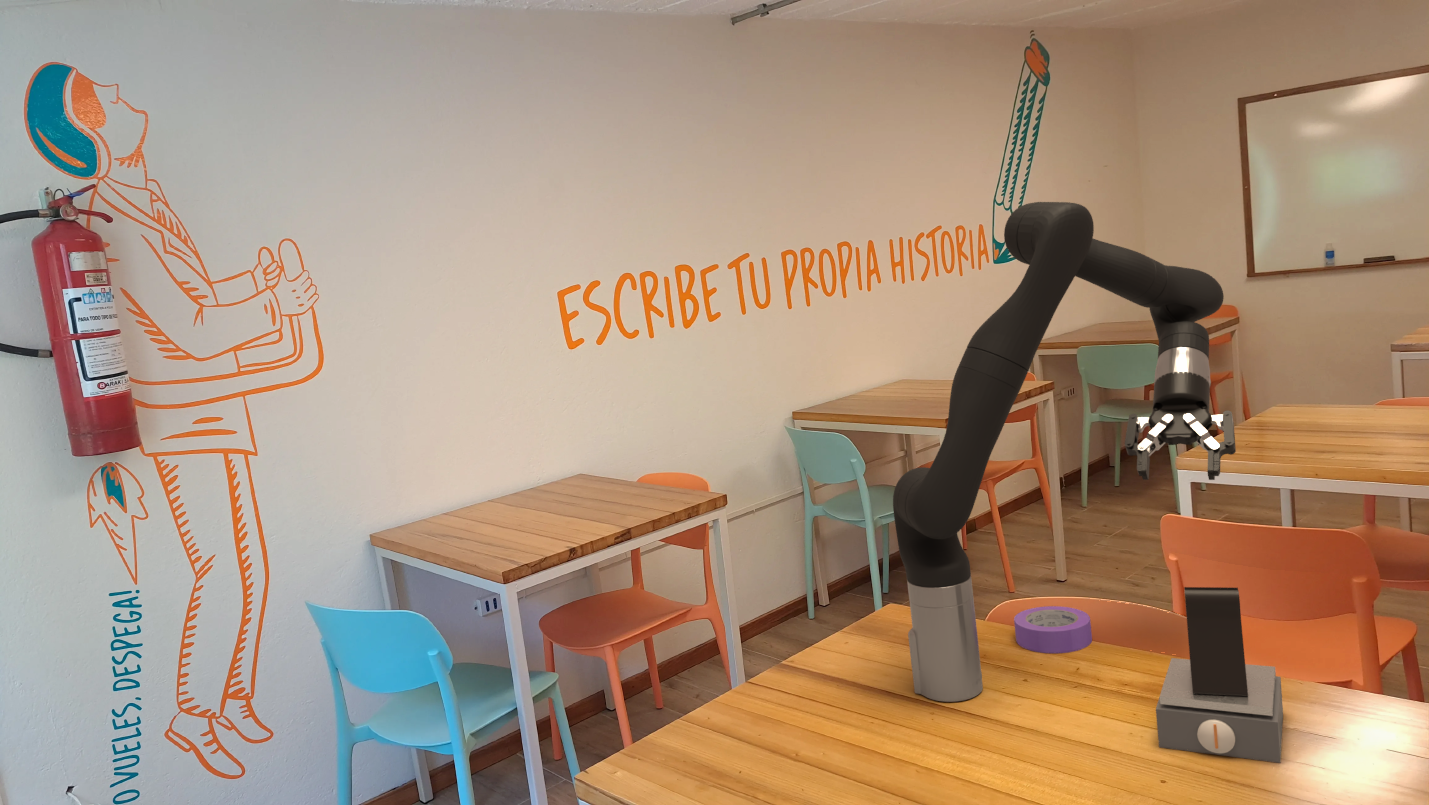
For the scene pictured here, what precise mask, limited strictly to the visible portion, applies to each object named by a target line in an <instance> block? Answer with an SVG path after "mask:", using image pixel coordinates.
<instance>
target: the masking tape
mask: <svg viewBox="0 0 1429 805" xmlns="http://www.w3.org/2000/svg"><path fill="white" fill-rule="evenodd" d="M1013 624H1014V632H1015V633H1014V634H1015V641H1016V643H1017V645H1019V646H1020V647H1021V648H1023V649H1025V650H1028V651H1031V652H1035V653H1041V654H1068V653H1072V652H1073V653H1074V652H1078V651H1080V650H1083V649H1084V648H1085V649H1086V648H1087V647H1089V646H1090V645H1091V644H1092V641H1093V635H1092V624H1091V617H1090V616H1089V614H1088V613H1087V612H1085V611H1083V610H1082V609H1081V610H1080V609H1077V608H1073V607H1069V606H1058V605H1057V606H1056V605H1052V606H1037V607H1032V608H1027V609H1025V610H1021V611H1020V612H1018V613H1017V614H1016V615H1015V616H1014V618H1013Z"/></svg>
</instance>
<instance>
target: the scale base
mask: <svg viewBox="0 0 1429 805" xmlns="http://www.w3.org/2000/svg"><path fill="white" fill-rule="evenodd" d="M1165 678H1166V676H1165V677H1164V679H1165ZM1281 678H1282V676H1277V675H1276V677H1275V690H1274V704H1273V716H1268V715H1259V714H1249V713H1240V712H1231V711H1221V710H1212V709H1203V708H1193V707H1184V706H1175V705H1165V704H1160V696H1159V698H1158V700H1157V704H1156V708H1155V716H1156V717H1155V718H1156V727H1157V728H1156V729H1157V738H1158V739H1157V740H1158V747H1159V748H1162V749H1169V750H1177V751H1186V752H1193V753H1200V754H1208V755H1209V754H1210V755H1217V756H1225V757H1231V758H1239V759H1246V760H1247V759H1248V760H1254V761H1263V762H1271V763H1278V764H1281V762H1282V761H1281V760H1282V744H1283V743H1282V741H1283V740H1282V739H1283V724H1284V723H1283V720H1284V707H1283V692H1282V679H1281ZM1161 691H1162V689H1161ZM1161 691H1160V692H1161Z"/></svg>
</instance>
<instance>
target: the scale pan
mask: <svg viewBox="0 0 1429 805" xmlns="http://www.w3.org/2000/svg"><path fill="white" fill-rule="evenodd" d="M1245 667H1246V678H1247V689H1248V696H1228V695H1208V694H1193V689H1192V677H1191V666H1190V658H1189V659H1186V658H1177V657H1176V658H1175V657H1174V658H1173V657H1171V658H1170V662H1169V665H1168V667H1167V672H1166V675H1165V677H1166V678H1165V677H1164V680H1163V684H1162V688H1161V690H1162V691H1160V694H1159V697H1160V704H1165V705H1175V706H1184V707H1193V708H1203V709H1212V710H1221V711H1231V712H1240V713H1249V714H1259V715H1268V716H1273V704H1274V690H1275V677H1276V676H1277V674H1276V673H1277V672H1276V666H1274V665H1273V666H1271V665H1270V666H1269V665H1259V664H1248V663H1245Z"/></svg>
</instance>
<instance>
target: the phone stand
mask: <svg viewBox="0 0 1429 805" xmlns="http://www.w3.org/2000/svg"><path fill="white" fill-rule="evenodd" d="M1183 588H1184V590H1183V591H1184V600H1185V613H1186V625H1187V627H1186V628H1187V639H1188V651H1189V660H1190V666H1191V677H1192V689H1193V694H1208V695H1228V696H1248V689H1247V678H1246V667H1245V664H1246V659H1245V658H1246V657H1245V650H1244V648H1245V647H1244V636H1243V635H1244V634H1243V627H1242V626H1243V625H1242V616H1241V615H1242V614H1241V600H1240V592H1239V591H1240V590H1239V588H1238V587H1221V586H1220V587H1214V586H1213V587H1210V586H1207V587H1203V586H1201V587H1200V586H1197V587H1195V586H1194V587H1193V586H1184V587H1183Z"/></svg>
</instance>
